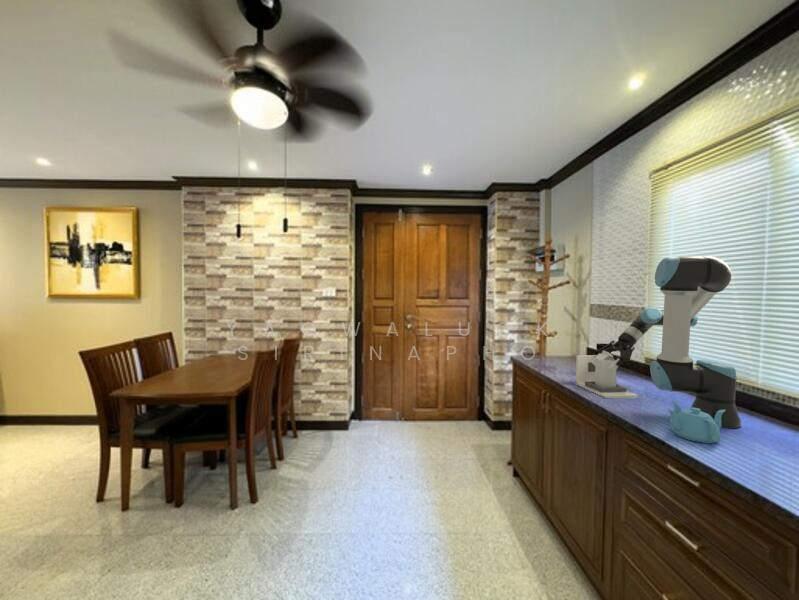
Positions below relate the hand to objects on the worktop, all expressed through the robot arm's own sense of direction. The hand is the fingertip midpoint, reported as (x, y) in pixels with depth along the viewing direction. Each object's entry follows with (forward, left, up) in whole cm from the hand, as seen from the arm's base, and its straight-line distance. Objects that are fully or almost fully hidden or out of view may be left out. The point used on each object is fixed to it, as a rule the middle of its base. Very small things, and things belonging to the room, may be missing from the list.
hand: (601, 366), depth 177 cm
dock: (0, -2, -12) cm, 13 cm away
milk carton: (0, -2, -11) cm, 12 cm away
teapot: (-54, +5, -13) cm, 56 cm away
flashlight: (+24, -19, -13) cm, 33 cm away
